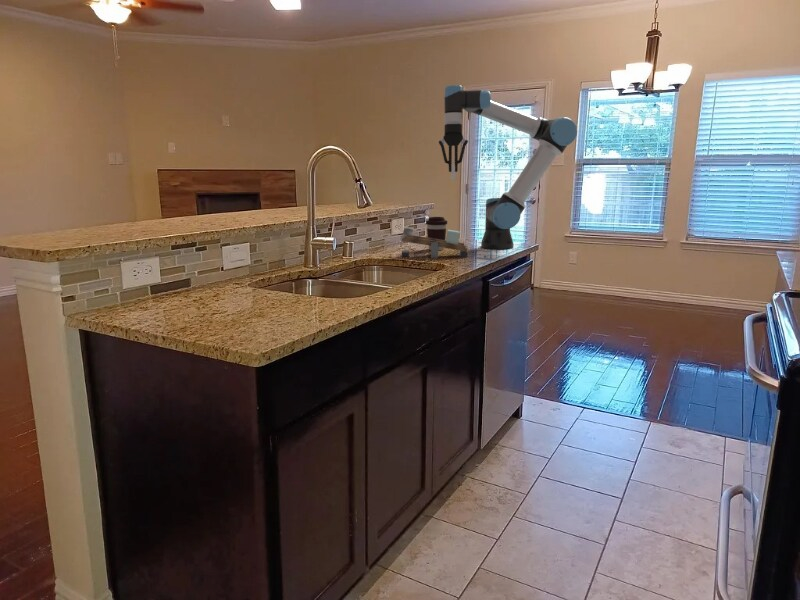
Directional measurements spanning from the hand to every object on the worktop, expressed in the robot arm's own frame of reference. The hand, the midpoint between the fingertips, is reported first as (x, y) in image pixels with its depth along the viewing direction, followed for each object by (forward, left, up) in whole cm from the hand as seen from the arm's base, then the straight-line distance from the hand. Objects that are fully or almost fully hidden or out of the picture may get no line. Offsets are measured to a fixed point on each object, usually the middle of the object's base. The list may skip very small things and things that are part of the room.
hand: (453, 179), depth 246 cm
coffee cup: (+7, -8, -32) cm, 34 cm away
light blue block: (+1, +12, -27) cm, 30 cm away
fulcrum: (+8, +12, -32) cm, 35 cm away
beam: (+8, +12, -27) cm, 30 cm away
